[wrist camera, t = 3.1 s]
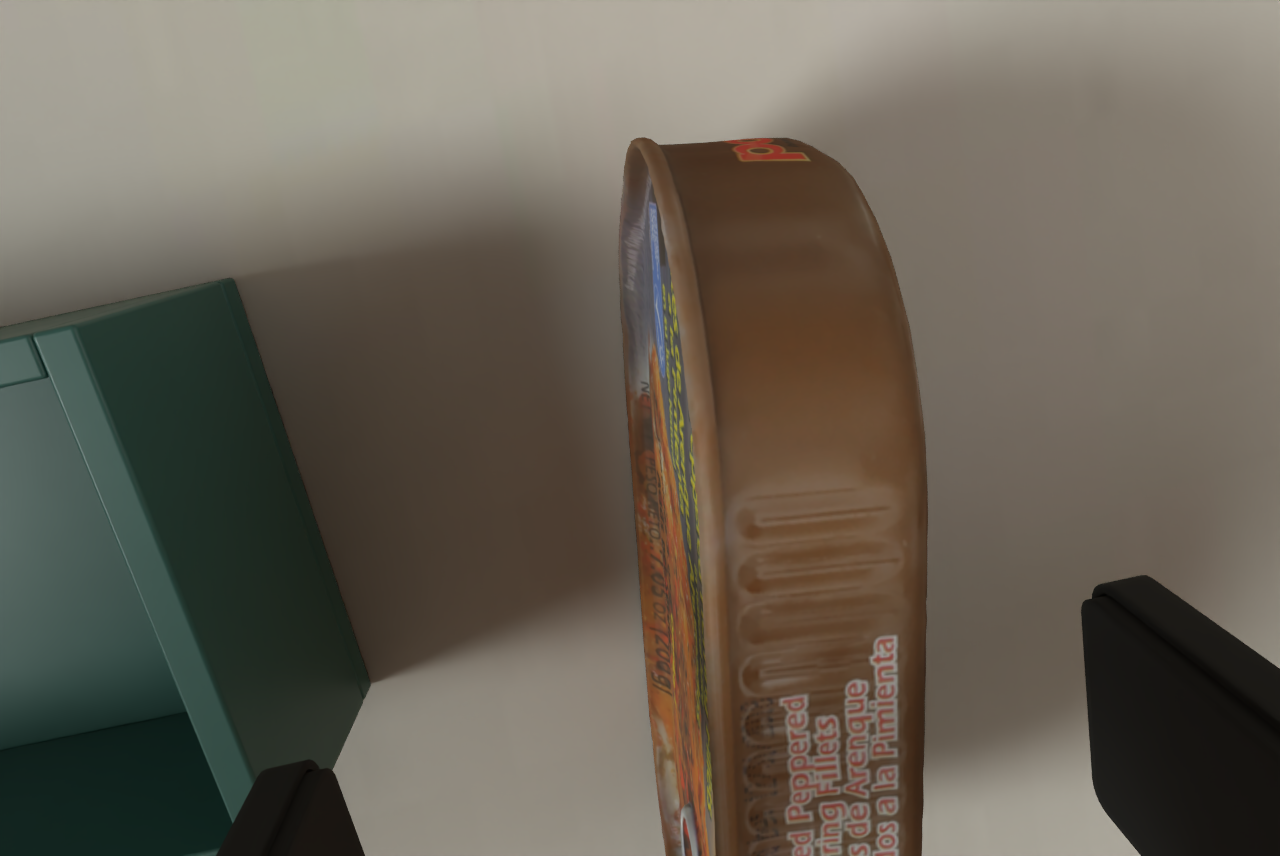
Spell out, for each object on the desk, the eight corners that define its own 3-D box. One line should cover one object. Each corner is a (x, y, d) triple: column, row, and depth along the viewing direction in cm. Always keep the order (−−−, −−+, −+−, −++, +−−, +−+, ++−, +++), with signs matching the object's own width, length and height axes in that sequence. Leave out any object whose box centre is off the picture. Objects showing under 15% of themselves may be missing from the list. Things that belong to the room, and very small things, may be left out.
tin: (608, 146, 16) (611, 125, 8) (783, 135, 16) (971, 101, 8) (657, 844, 20) (692, 1302, 12) (796, 832, 20) (925, 1281, 12)
